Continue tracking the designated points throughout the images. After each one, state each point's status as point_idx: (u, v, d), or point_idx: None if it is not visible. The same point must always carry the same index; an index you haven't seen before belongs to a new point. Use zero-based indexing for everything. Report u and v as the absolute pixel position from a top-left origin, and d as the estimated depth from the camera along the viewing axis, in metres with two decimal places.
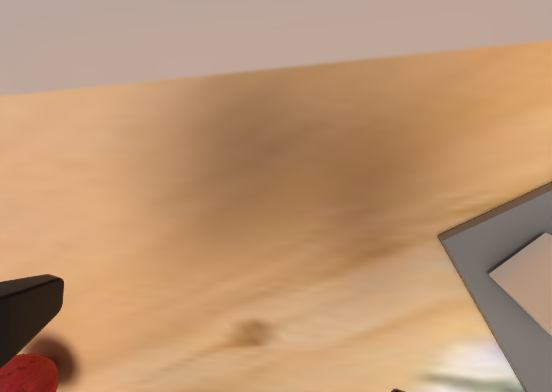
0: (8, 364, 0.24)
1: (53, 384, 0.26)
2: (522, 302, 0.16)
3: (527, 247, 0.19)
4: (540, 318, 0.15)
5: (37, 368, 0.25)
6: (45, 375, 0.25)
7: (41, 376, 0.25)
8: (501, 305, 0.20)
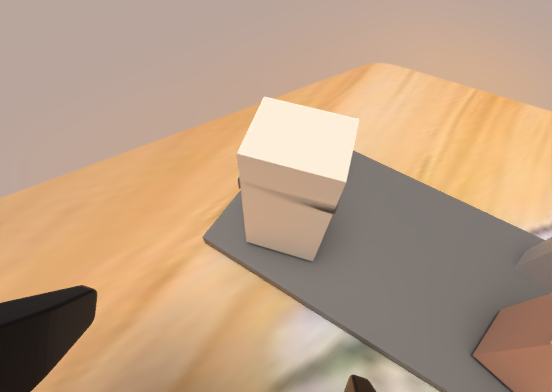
0: None
1: None
2: (244, 219, 0.19)
3: None
4: (243, 208, 0.18)
5: None
6: None
7: None
8: (275, 262, 0.22)
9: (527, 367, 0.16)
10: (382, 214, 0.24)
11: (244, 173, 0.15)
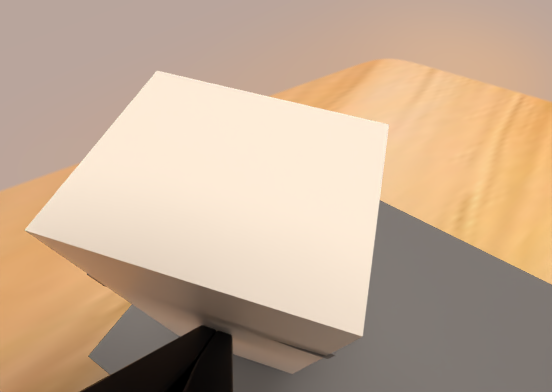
0: None
1: None
2: (155, 317, 0.10)
3: None
4: None
5: None
6: None
7: None
8: None
9: None
10: (405, 303, 0.14)
11: (87, 268, 0.06)
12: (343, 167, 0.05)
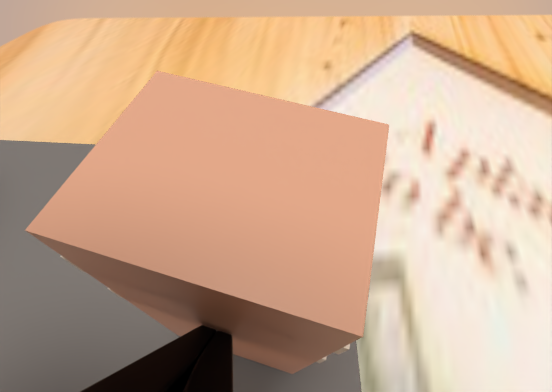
0: None
1: None
2: None
3: None
4: None
5: None
6: None
7: None
8: None
9: (187, 331, 0.10)
10: (37, 211, 0.16)
11: None
12: None
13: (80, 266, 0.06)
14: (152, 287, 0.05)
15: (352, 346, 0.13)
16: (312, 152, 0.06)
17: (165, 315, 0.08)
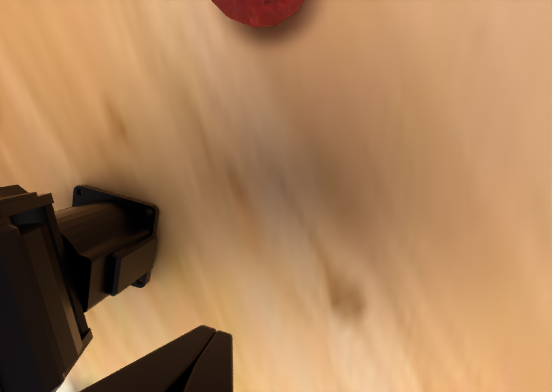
0: None
1: (267, 25, 0.16)
2: None
3: None
4: None
5: (301, 2, 0.15)
6: (287, 16, 0.15)
7: (290, 13, 0.15)
8: None
9: None
10: None
11: None
12: None
13: None
14: None
15: None
16: None
17: None
